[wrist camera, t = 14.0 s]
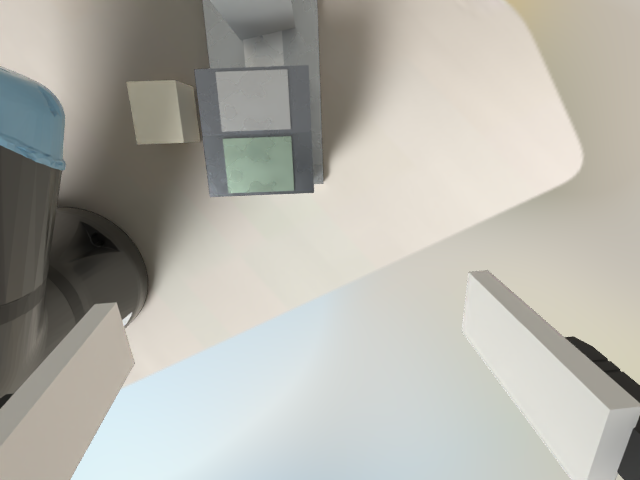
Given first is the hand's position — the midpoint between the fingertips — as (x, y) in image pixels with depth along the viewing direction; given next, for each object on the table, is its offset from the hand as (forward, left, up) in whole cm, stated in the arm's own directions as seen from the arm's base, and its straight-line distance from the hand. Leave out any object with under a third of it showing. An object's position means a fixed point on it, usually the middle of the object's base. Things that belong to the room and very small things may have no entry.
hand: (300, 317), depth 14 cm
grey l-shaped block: (-3, +12, -25) cm, 28 cm away
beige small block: (-12, +9, -25) cm, 29 cm away
